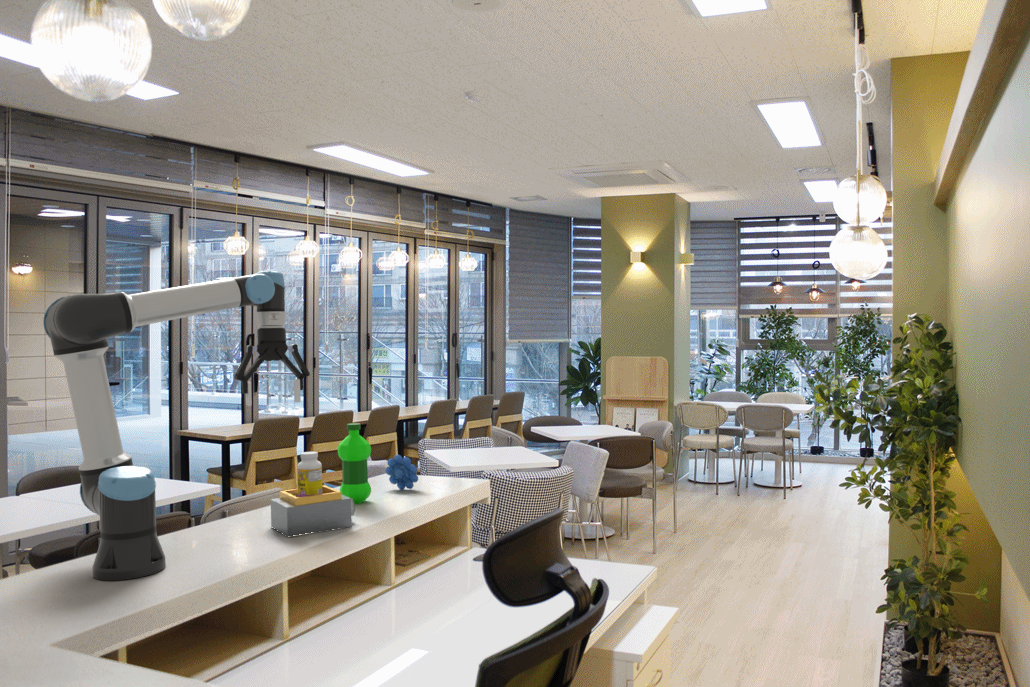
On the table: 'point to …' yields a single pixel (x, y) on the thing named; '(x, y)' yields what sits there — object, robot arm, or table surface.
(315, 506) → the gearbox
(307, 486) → the supplement bottle
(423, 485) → the table surface
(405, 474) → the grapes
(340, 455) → the plastic bottle
